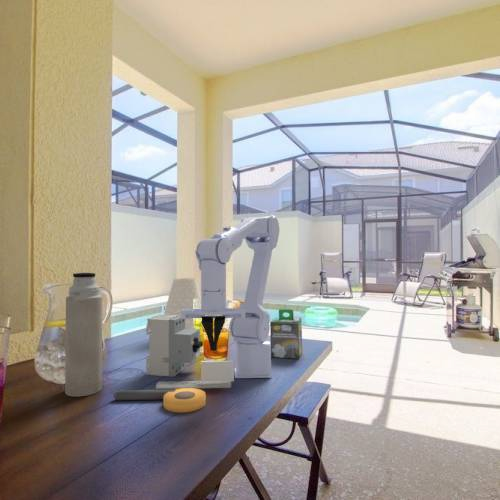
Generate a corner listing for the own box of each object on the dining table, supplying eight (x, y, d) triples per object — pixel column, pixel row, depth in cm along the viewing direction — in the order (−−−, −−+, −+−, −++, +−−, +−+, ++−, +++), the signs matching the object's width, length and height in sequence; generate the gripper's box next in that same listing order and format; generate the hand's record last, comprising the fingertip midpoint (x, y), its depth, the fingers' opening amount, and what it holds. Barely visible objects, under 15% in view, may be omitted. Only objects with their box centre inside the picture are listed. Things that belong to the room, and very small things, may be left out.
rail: (231, 384, 93) (231, 380, 93) (231, 387, 90) (231, 383, 90) (157, 385, 92) (157, 381, 92) (155, 389, 89) (155, 385, 89)
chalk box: (302, 352, 124) (302, 307, 124) (299, 359, 115) (299, 311, 115) (275, 350, 126) (274, 306, 126) (269, 357, 117) (269, 310, 117)
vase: (154, 341, 139) (154, 280, 140) (172, 332, 156) (172, 277, 157) (199, 343, 136) (199, 280, 137) (212, 333, 154) (212, 277, 154)
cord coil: (207, 395, 85) (207, 387, 85) (204, 411, 76) (204, 402, 76) (167, 396, 85) (167, 388, 85) (159, 413, 76) (159, 403, 76)
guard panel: (233, 380, 92) (233, 360, 92) (233, 381, 91) (233, 361, 91) (201, 380, 91) (201, 361, 92) (201, 381, 91) (201, 362, 91)
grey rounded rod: (178, 397, 84) (178, 388, 84) (176, 400, 82) (176, 391, 82) (115, 398, 84) (115, 389, 84) (112, 401, 82) (112, 392, 82)
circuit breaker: (196, 378, 98) (196, 320, 98) (146, 374, 100) (146, 318, 101) (205, 369, 105) (205, 316, 105) (158, 366, 108) (158, 314, 108)
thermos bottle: (83, 383, 94) (83, 271, 94) (109, 386, 91) (109, 272, 92) (57, 394, 86) (58, 273, 87) (84, 398, 84) (85, 273, 84)
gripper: (179, 292, 81) (179, 354, 81) (245, 291, 82) (245, 353, 82) (183, 289, 88) (183, 347, 88) (244, 289, 89) (244, 346, 89)
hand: (213, 349), depth 85 cm, fingers closed
